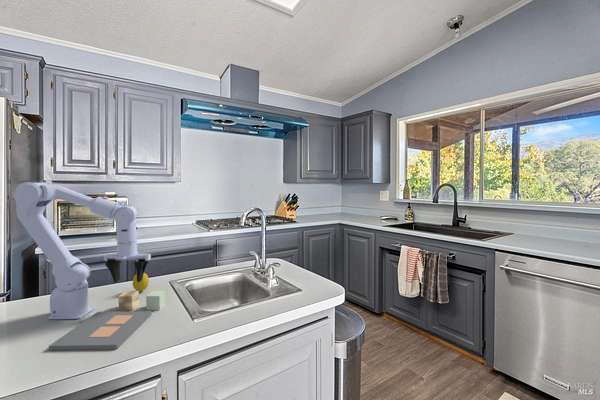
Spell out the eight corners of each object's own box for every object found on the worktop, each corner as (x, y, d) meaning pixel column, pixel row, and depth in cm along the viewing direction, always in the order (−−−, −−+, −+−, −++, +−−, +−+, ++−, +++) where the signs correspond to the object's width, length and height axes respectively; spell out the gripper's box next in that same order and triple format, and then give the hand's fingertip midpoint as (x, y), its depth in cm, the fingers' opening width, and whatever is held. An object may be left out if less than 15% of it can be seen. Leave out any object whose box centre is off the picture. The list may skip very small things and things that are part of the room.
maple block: (118, 310, 96) (118, 296, 96) (126, 305, 100) (125, 291, 100) (132, 310, 96) (131, 296, 96) (139, 305, 101) (138, 291, 100)
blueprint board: (49, 350, 74) (48, 345, 73) (97, 315, 92) (97, 311, 92) (117, 349, 74) (116, 344, 74) (151, 314, 93) (151, 310, 93)
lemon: (144, 288, 116) (144, 268, 115) (151, 291, 113) (151, 271, 112) (130, 292, 111) (129, 272, 111) (137, 295, 108) (136, 275, 108)
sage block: (146, 310, 96) (146, 296, 96) (152, 304, 101) (152, 291, 100) (159, 310, 97) (159, 296, 96) (165, 304, 101) (164, 290, 101)
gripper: (97, 244, 92) (98, 285, 93) (143, 244, 93) (144, 285, 94) (110, 239, 99) (111, 278, 100) (153, 239, 100) (154, 277, 101)
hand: (128, 280), depth 98 cm, fingers open, 7 cm apart
